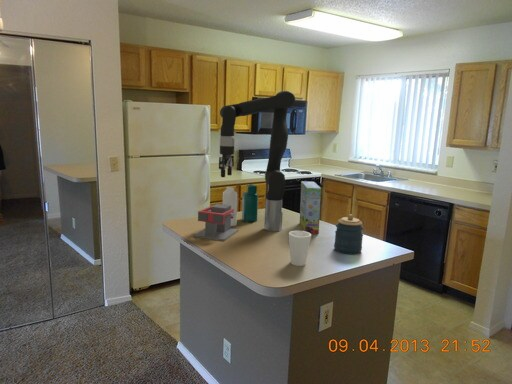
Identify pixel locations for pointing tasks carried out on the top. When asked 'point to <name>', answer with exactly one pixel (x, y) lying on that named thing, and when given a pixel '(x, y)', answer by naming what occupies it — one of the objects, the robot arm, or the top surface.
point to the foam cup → (299, 247)
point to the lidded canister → (348, 235)
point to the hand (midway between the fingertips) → (226, 176)
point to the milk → (231, 202)
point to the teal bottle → (250, 204)
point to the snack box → (310, 207)
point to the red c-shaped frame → (213, 216)
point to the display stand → (218, 225)
